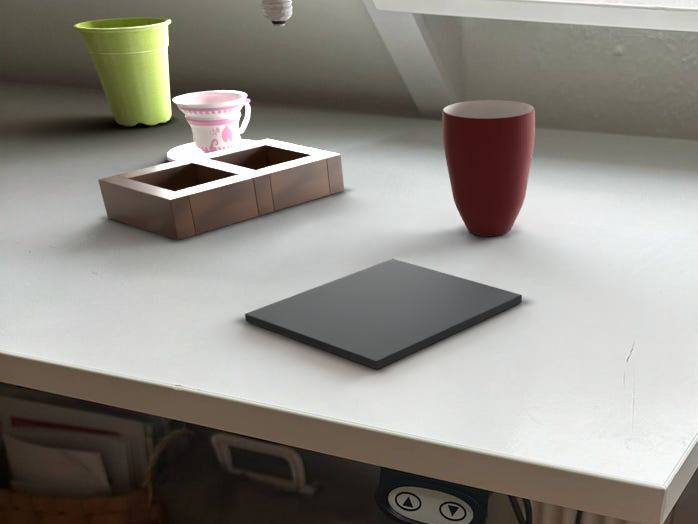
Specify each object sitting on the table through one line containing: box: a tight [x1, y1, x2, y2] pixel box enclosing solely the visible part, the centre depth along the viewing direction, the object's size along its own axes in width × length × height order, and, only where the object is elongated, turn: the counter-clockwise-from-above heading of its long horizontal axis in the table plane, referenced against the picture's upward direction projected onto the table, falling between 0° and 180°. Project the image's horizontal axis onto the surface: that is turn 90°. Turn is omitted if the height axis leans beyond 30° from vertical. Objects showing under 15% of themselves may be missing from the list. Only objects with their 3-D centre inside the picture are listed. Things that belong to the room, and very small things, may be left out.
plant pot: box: [73, 16, 172, 127], centre depth 122 cm, size 12×12×11 cm
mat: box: [244, 258, 523, 370], centre depth 72 cm, size 16×14×1 cm
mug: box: [441, 99, 536, 237], centre depth 85 cm, size 10×8×10 cm
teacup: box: [166, 89, 257, 162], centre depth 108 cm, size 12×12×6 cm
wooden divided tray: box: [98, 138, 345, 241], centre depth 94 cm, size 21×12×4 cm, turn 140°
